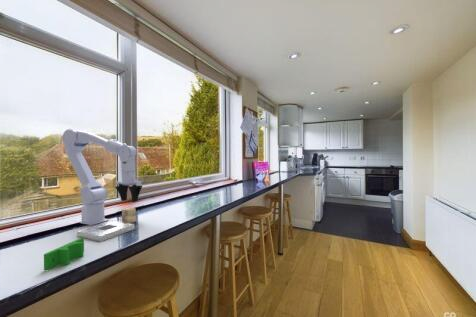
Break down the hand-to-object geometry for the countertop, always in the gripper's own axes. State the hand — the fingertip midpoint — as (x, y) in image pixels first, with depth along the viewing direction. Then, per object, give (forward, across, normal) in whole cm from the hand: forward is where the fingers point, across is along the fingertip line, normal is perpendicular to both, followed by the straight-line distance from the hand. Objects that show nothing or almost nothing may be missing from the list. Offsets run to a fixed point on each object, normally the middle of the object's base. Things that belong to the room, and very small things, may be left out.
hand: (129, 201), depth 96 cm
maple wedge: (+10, +1, 0) cm, 10 cm away
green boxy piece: (+10, -17, +32) cm, 37 cm away
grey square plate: (+10, -4, +13) cm, 17 cm away
